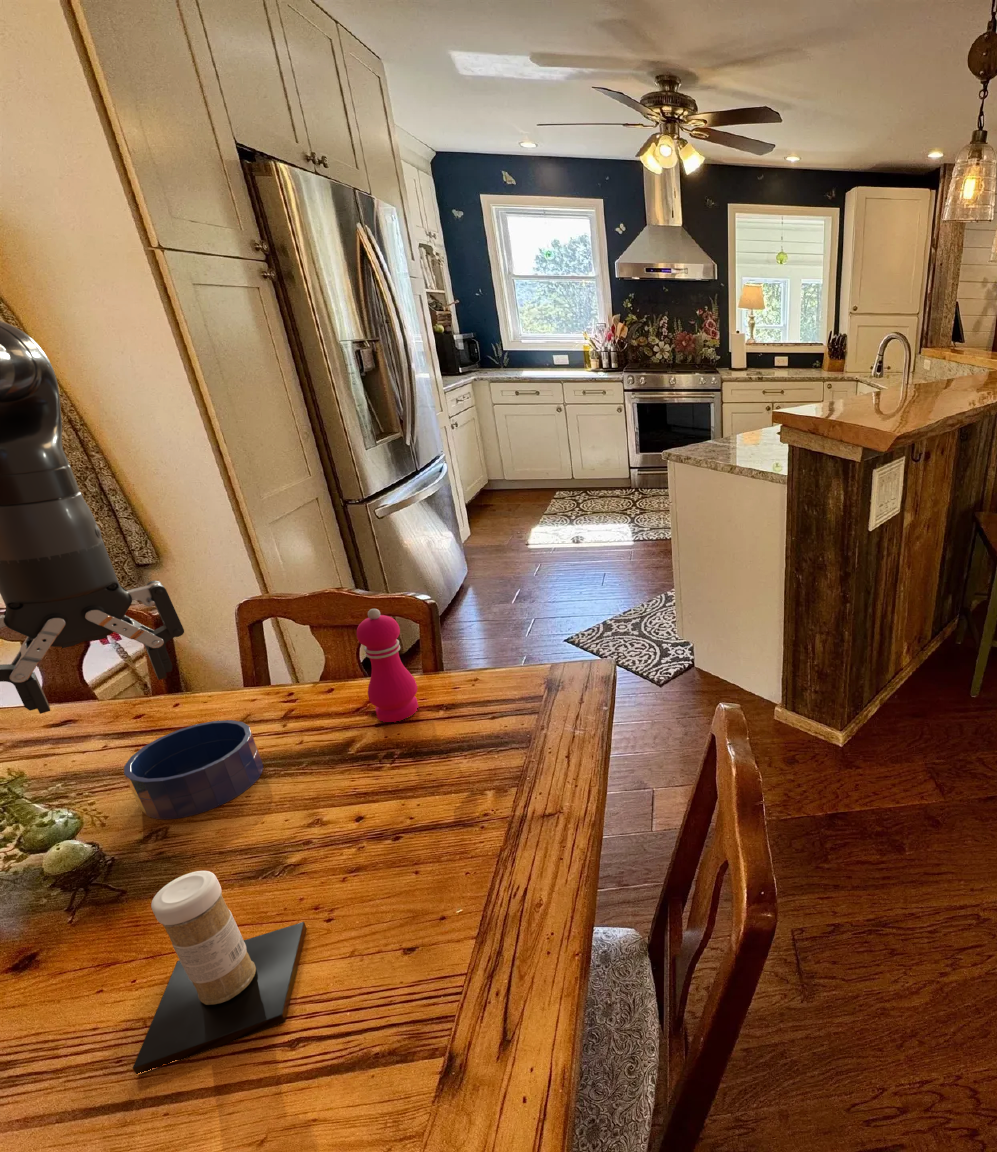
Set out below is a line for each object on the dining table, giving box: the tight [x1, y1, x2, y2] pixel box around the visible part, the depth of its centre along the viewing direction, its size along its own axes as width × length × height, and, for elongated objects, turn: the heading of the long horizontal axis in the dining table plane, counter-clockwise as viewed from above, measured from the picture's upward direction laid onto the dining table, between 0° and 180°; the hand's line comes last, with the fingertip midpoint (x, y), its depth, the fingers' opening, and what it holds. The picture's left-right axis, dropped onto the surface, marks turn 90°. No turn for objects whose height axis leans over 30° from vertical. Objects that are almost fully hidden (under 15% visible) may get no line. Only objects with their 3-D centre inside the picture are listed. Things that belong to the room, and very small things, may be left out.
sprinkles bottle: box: [150, 870, 256, 1005], centre depth 59 cm, size 5×5×14 cm
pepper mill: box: [356, 608, 419, 723], centre depth 102 cm, size 7×7×20 cm
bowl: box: [123, 719, 264, 820], centre depth 88 cm, size 13×13×6 cm
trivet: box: [132, 921, 308, 1075], centre depth 62 cm, size 11×11×1 cm
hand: (105, 692), depth 63 cm, fingers open, 8 cm apart
